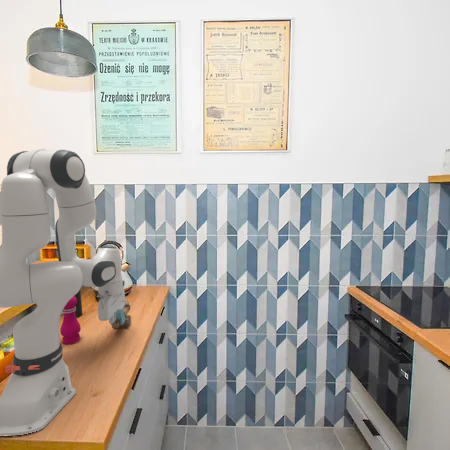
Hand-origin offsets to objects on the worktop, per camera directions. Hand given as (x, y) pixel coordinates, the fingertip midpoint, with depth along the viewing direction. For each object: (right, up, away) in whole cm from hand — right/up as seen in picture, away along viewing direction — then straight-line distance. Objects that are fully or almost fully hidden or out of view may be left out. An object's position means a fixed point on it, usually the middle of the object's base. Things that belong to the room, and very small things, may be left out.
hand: (112, 321), depth 123 cm
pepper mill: (-17, -8, +2) cm, 19 cm away
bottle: (-27, -5, +26) cm, 38 cm away
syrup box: (-9, -4, +32) cm, 34 cm away
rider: (0, -3, +7) cm, 8 cm away
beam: (-1, -6, +14) cm, 15 cm away
